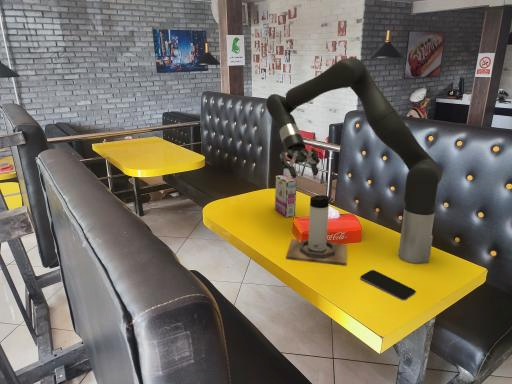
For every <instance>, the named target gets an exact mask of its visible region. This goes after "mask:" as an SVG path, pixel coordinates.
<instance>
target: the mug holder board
mask: <svg viewBox="0 0 512 384" xmlns="http://www.w3.org/2000/svg"><path fill="white" fill-rule="evenodd" d="M299 240H300V239H297V238H291V240H290V243H289V247H288V250H287V251H286V252H287V253H286V255H285V259H286V260H290V261H291V260H292V261H301V262H302V261H303V262H310V263H318V264H319V263H320V264H328V265H336V266H339V265H340V266H347V262H348V261H347V260H348V252H347V251H348V248H347V246H348V244H345V243H337V242H331V241H329V240H327V242H326V251H325V252H323V253H314V252H310V251H309V250H308V239H304V240H305V241H301V243H300V242H299Z"/></svg>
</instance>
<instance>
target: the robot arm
mask: <svg viewBox="0 0 512 384" xmlns="http://www.w3.org/2000/svg"><path fill="white" fill-rule="evenodd" d="M348 88H350V89H351V91H353V92H354V94H355V95H356V96H357V98H358V99H359V100H360V102H361V105H362V107H363V111H364V115H365V118H366V121H367V124H368V125H369V127H370V128H371V130H372V131H373V132H374V134H375V135H376V137H378V139H379V140H380V141H381V142H382V143H383V144H384V145H385V146H387V148H390V150H391V151H393V152H394V153H395V154H396V155H398V157H399V158H400V159H401V160H402V161H403V163H404V164H405V166H406V168H407V169H408V172H407V176H406V179H405V187H404V188H405V189H404V197H403V198H404V208H403V209H404V210H403V216H402V224H401V232H400V240H399V247H398V255H397V256H398V257H399V258H400V259H401V260H403V262H404V261H405V262H408V263H411V264H425V263H429V262H430V256H431V251H432V245H433V239H434V236H433V234H432V233H433V232H432V231H433V225H434V219H435V214H436V207H437V205H436V200H437V192H438V187H439V183H440V182H441V180H442V178H443V171H442V168H441V167H440V166H439V163H437V162H436V161H435V160H434V158H433V157H432V156H431V155H430V154H429V153H428V152H427V151H426V150H425V149H424V147H422V146H421V145H420V143H419V142H418V140H417V139H416V137H415V135H414V133H413V132H412V131H411V129H410V128H409V126H407V124H406V122H405V121H404V120H403V118H402V117H401V115H400V114H399V113H398V112H397V110H396V108H395V107H394V106H393V105H392V104H391V102H390V101H389V100H388V98H387V97H386V96H385V94H384V93H383V92H382V91H381V89H380V88H379V87H378V85H377V84H376V82H375V80H374V79H373V77H372V75H371V74H370V72H369V70H368V69H367V67H366V65H365V64H364V63H363V61H361V60H360V59H359V58H356V57H349V58H341V59H339V60H338V61H336V62H335V63H334V64H332V65H331V66H329V67H328V68H327V69H325V70H324V71H323V72H322V73H320V74H318V75H316V76H315V77H314V78H311V79H309V80H307V81H305V82H302V83H300V84H299V85H298V84H297V86H294V87H292V88H290V89H289V90H288V91H287V92H286V95H285V96H283V95H281V94H277V93H273V94H272V93H271V94H270V95H269V96H268V97H267V99H266V109H267V112H268V114H269V115H270V117H271V119H272V120H273V122H274V123H275V124H276V127H277V129H278V132H279V135H280V136H279V137H280V140H281V142H282V145H283V148H284V150H283V151H281V153H280V154H279V161H280V162H281V166H282V169H284V170H285V169H287V170H288V172H289V174H290V177H292V179H296V178H297V176H298V174H297V171H296V169H295V166H294V164H299V163H301V164H303V163H304V164H306V165H308V166H310V168H311V172H312V174H313V176H314V177H316V176H317V175H318V174H319V168H318V165H319V163H320V162H321V159H320V158H319V156H318V154H317V151H316V150H315V149H314V148H311V149H309V150H308V148H306V143H305V140H304V139H303V135H302V134H301V131H300V128H299V126H297V122H296V120H295V117H294V116H293V115H292V114H291V113H293V112H294V111H295V110H296V109H297V108H298V107H300V106H302V105H304V104H306V103H309V102H312V101H313V100H314V99H316V98H317V97H319V96H321V95H323V94H324V93H327V92H330V91H334V90H339V89H348ZM287 158H288V159H289V160H290V161H289V163H288V159H287Z"/></svg>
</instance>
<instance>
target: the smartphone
mask: <svg viewBox="0 0 512 384" xmlns="http://www.w3.org/2000/svg"><path fill="white" fill-rule="evenodd" d="M359 277H360V278H359V279H360V280H361V281H362V282H365V284H368V285H370V286H371V287H374V288H376V289H379V290H380V291H382V292H383V293H386V294H389V295H390V296H392V297H394V298H396V299H399V300H400V301H407V300H408V299H409V298H411V297H413V296H414V295H415V294H416V293H417V291H416V290H415V289H414V288H412V287H409V286H408V285H406V284H404V283H401V282H400V281H397V280H395V279H393V278H392V277H389V276H388V275H385V274H383V273H381V272H379V271H378V270H375V269H370V270H368V271H366V272H365V273H364V274H362V275H360V276H359Z"/></svg>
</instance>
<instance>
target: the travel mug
mask: <svg viewBox="0 0 512 384" xmlns="http://www.w3.org/2000/svg"><path fill="white" fill-rule="evenodd" d="M309 198H310V201H309V202H310V203H309V217H308V218H309V219H308V237H307V238H308V239H307V240H308V250H309V251H310V252H314V253H323V252H325V251H326V242H327V241H328V225H329V208H330V205H329V204H330V202H329V201H330V197H329V196H328V195H325V194H323V195H322V194H319V195H318V194H317V195H314V196H311V197H309Z"/></svg>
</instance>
